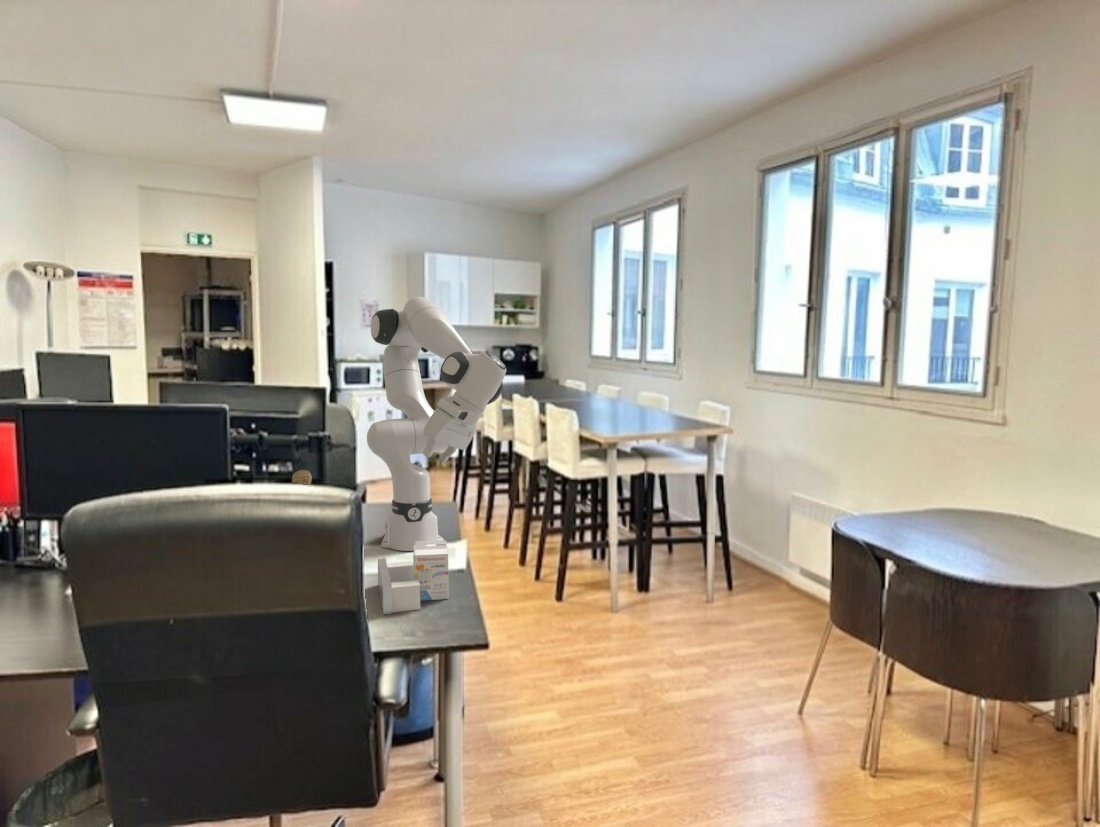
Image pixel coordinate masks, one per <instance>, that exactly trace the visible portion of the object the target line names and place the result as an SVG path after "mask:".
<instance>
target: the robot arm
mask: <svg viewBox="0 0 1100 827" xmlns="http://www.w3.org/2000/svg"><path fill="white" fill-rule="evenodd" d="M370 334H371V337H372V339H373V340H374V342H375V343H377V344H380V345H384V346H386V347H385V348H384V351H383V359H382V360H383V361H382V362H383V363H382V364H383V365H382V367H383V369H382V370H383V379H384V387H385V394H386V400H387V402H388V404H389V405H390V406H391V407H392V408H394V409H396V410H399V411H401V412H403V413H404V414H405V415H406V416H407V417H406V418H405V417H404V418H388V419H384V420H380V421H376V422H373V423H372V424H371V425H370V427H369V428H368V429H367V430H368V431H367V434H366V443H367V447H368V448H369V450H370V451H371V452H372V453H373V454H374V455H375V456H377V457H378V458H380V459H381V460H382V461H383V463H385V464H386V465H387V467H388V469H389V471H390V475H391V480H392V481H391V482H392V493H393V498H392V501H391V511H392V513H391V516H389V517H388V519H387V520H386V521H385V524H384V525H385V529H387V530H386V532H385V534H384V536H383V539H382V542H381V545H380V547H381V548H386V549H392V550H396V551H400V552H413V546H414V545H415V542H416V541H437V540H444V538H443V537H442V536H441V535H440V534H439V531H438V528H439V527H438V517H437V515H436V514H435V513H434V512H432V510H433V500H432V498H431V476H430V473H429V472H428V471H427V469H426V468H424V467H422V466H420V465H417V464H415V463H413V462H412V461H411V455H420V454H421V455H422V454H423V456H425V457H427V458H431V457H432V456H433V454H434V453H438V452H441V451H443V452H441V454H440V455H439V457H438V458H439V460H440V461H442V462H444V463H445V462H447V461H448V460H449V459H450V457H451V456H452V455H453V454H455V453H456V452H457V450H458V449H459V450H461V451H464V450H465V449H467V447H469V445H470V443H471V442H472V439H473V437H474V435H475V433H476V431H477V424H478V422H479V420H480V419H481V417H482V416H483V414H484V412H485V411H486V408H487V405H491V404H492V403H494V402H496V401H497V400H498V399H499V398H500V396H501V394H502V392H503V388H504V387H503V386H504V384H503V381H504V378H505V377H506V373H507V366H506V364H504V362H503V361H502V360H501V359H499V358H498V356H496V355H494V353H491V352H490V351H486V350H484V351H481V352H480V353H474V352H473V351H472V350H471V349H470V348H469V347H468V345H467V344H466V343H465V341H464V340H463V338H462V337H461V336H460V334H459V332H457V331H456V329H455V327H454V326H453V324H452V323H451V322H450V320H449V319H448V317H447V316H446V315H445V313H444V311H442V309H441V308H440V307H439V306H438V305H437V304H435V303H434V302H433V301H432V300H430V299H429V298H428V297H424V296H415V297H412V298H410V299H409V300H408V301H407V302H406V303H405V304H404V307H403V309H394V308H388V309H380V310H378V311H376V312H375V313H374V314H373V316H372V317H371V323H370ZM420 351H422V352H423V353H424V354H426V353H428V352H430V353H432V354H434V355H436V356H438V357H439V358H441V359H443V362H442V364H441V366H440V378H441V380H442V381H443V382H444V383H445V385H447V387H449V388H452V389H453V390H455V392H454V393H453V394H452V395H451V396H449V397H444V398H440V399H439V401H438V402H437V404H436V405H437V408H436V409H435V410H434V409H433V408H432V407H431V405H430V403H429V402H428V400H427V399H426V395H425V392H424V387H423V382H422V381H423V380H422V374H421V372H420V371H421V370H420V365H419V364H420V363H419V353H420ZM427 545H434V543H429V544H427Z"/></svg>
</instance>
